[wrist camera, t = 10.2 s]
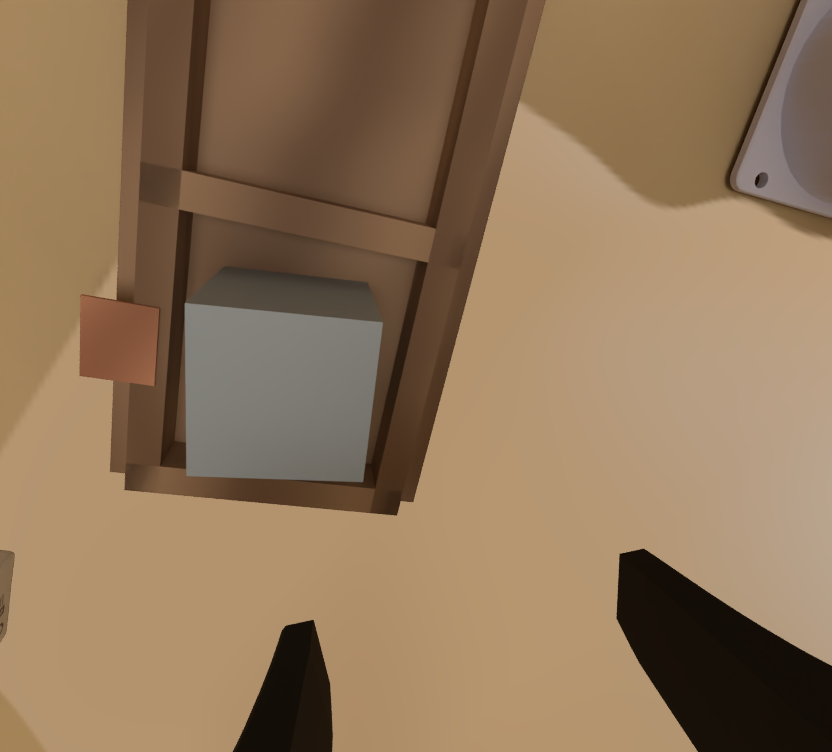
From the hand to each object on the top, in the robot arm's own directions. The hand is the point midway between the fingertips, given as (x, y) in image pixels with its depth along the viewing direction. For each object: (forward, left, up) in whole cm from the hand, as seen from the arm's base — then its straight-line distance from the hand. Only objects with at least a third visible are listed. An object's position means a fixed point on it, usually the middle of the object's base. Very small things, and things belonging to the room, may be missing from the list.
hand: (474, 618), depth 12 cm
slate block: (+5, -3, -8) cm, 10 cm away
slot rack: (+5, -7, -9) cm, 13 cm away
